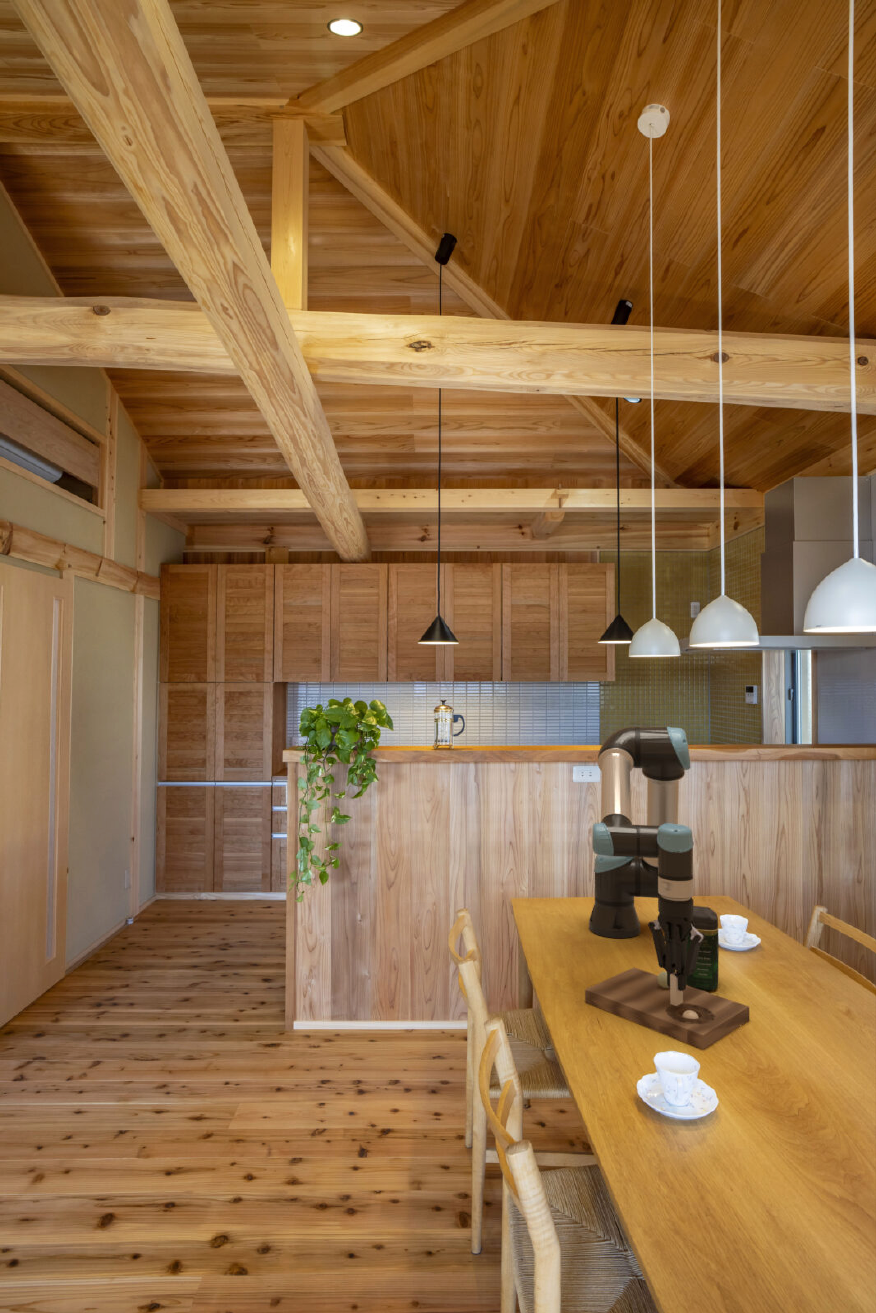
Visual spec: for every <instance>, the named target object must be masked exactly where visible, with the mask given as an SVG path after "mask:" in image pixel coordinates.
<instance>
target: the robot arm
mask: <svg viewBox="0 0 876 1313" xmlns="http://www.w3.org/2000/svg"><path fill="white" fill-rule="evenodd" d="M690 758H691V756H690V752H689V744H688V738H687V734H686V730H684V728H681V727H670V726H627V727H623V728H619V729H618V730H616V731H614V732H613V733H612V734H610V735H609V736H608V737H607V738H606V739H605V740H604V742H603V743H602V744H601V746H600V748H599V751H598V755H597V766H598V768H599V770H600V771H601V776H600V777H601V782H600V784H601V785H600V786H601V787H600V789H601V790H600V793H601V794H600V803H601V804H600V805H601V806H600V822H599V823H597V822H596V823H594V824H593V825H592V835H591V836H592V842H591V843H592V852H593V853H594V854H595V855H596V856H595V858H594V869H593V872H594V904H593V907H592V910H591V912H590V916H589V919H588V929H589V931H590V932H591V933H594V934H596V935H597V936H601V937H605V938H613V939H628V938H633V937H637V936H639V935H640V934H641V923H640V920H639V916H638V913H637V910H636V907H635V898H648V899H649V898H650V899H651V898H652V899H657V910H658V912H659V913H658V915H657V919H655V920H652V921H649V922H648V924H647V925H648V928H649V930H650V932H651V934H652V939H653V945H654V948H655V949H654V950H655V954H656V958H657V963H658V966H659V968H661V969H662V968H663V969H664V970H665V972H667V985H668V987H670V1004H672V1005H675V1006H678V1005H679V1004H681V1003H683V990H685V989H686V985H687V984H686V976H688V975H690V974H692V973H694V971H695V967H696V962H697V958H698V954H699V949H700V945H701V942H702V941H703V939H704V938H705V934H704V933H699V932H698V931H697V930H696V929H695V924H694V922H693V914H694V906H695V905H694V899H693V896H694V873H693V872H694V870H693V869H694V868H693V867H694V837H693V836H694V835H693V830H692V829H691V827H689V826H686V825H683V824H679V793H680V792H679V788H680V787H679V784H680V781H681V779H683V778H684V776H685V773H686V772H685V771H688V770H691V768H692V767H691V759H690ZM633 769H641V774H642V775H643V776H644V777H645V778H646V779H647V784H646V785H647V787H646V788H647V793H646V794H647V798H646V799H647V802H646V804H647V805H646V807H647V809H646V814H647V815H646V816H647V817H646V819H647V820H646V824H645V825H644V824H633V820H632V819H633V816H632V791H631V790H632V788H631V772H632V770H633ZM690 934H691V940H692V941H691V943H690V946H689V950H688V955H687V942H688V936H689V935H690Z"/></svg>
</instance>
